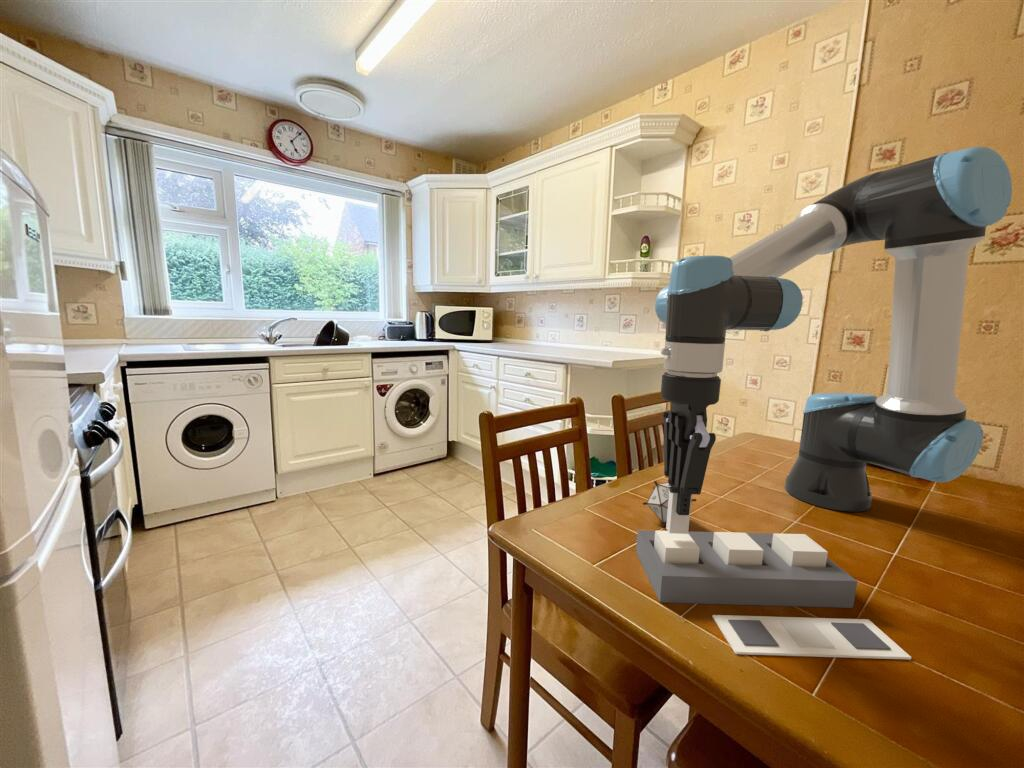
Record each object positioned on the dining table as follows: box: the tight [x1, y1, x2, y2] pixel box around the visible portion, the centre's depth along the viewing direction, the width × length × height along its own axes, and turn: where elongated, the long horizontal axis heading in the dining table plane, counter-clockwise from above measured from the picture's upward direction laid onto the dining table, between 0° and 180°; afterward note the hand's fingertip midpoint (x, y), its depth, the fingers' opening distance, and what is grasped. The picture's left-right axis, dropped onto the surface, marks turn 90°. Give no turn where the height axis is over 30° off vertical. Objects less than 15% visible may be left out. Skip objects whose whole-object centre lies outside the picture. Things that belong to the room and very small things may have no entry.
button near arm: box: [771, 532, 829, 567], centre depth 61 cm, size 5×5×3 cm
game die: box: [642, 480, 698, 528], centre depth 78 cm, size 9×8×10 cm
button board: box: [635, 529, 858, 609], centre depth 62 cm, size 26×12×4 cm, turn 89°
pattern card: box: [711, 614, 912, 660], centre depth 51 cm, size 20×6×1 cm, turn 89°
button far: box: [654, 530, 700, 564], centre depth 62 cm, size 5×5×3 cm
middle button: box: [712, 531, 764, 566], centre depth 62 cm, size 5×5×3 cm
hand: (677, 530), depth 61 cm, fingers closed
